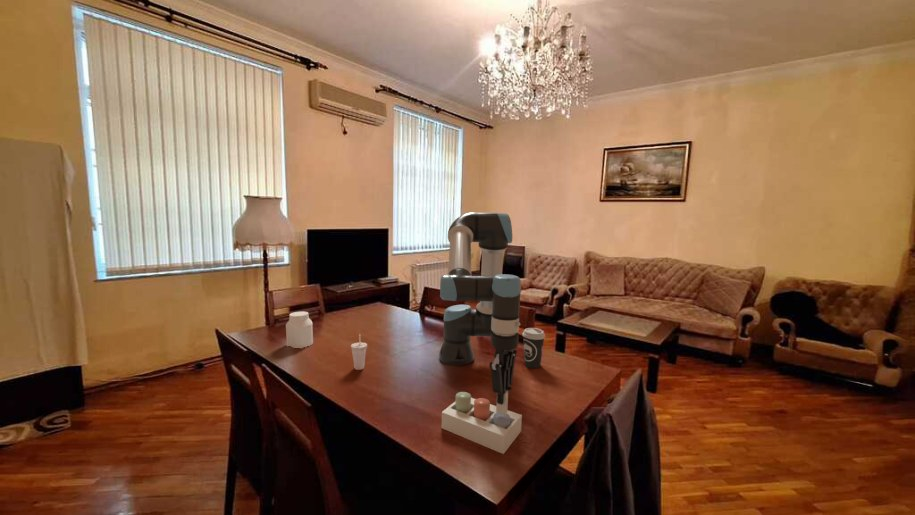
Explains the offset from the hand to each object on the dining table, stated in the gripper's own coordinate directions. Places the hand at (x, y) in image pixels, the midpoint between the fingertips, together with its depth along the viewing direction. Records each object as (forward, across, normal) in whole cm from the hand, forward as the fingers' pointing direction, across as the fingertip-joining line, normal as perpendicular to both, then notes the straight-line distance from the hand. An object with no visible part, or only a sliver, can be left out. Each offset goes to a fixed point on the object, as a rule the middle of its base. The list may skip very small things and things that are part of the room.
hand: (501, 412), depth 98 cm
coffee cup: (+8, +52, +10) cm, 53 cm away
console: (+7, 0, +6) cm, 10 cm away
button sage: (+5, 0, +13) cm, 14 cm away
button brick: (+5, 0, +6) cm, 8 cm away
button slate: (+7, 0, 0) cm, 7 cm away
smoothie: (+8, +8, +67) cm, 68 cm away
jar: (+8, +9, +110) cm, 111 cm away
